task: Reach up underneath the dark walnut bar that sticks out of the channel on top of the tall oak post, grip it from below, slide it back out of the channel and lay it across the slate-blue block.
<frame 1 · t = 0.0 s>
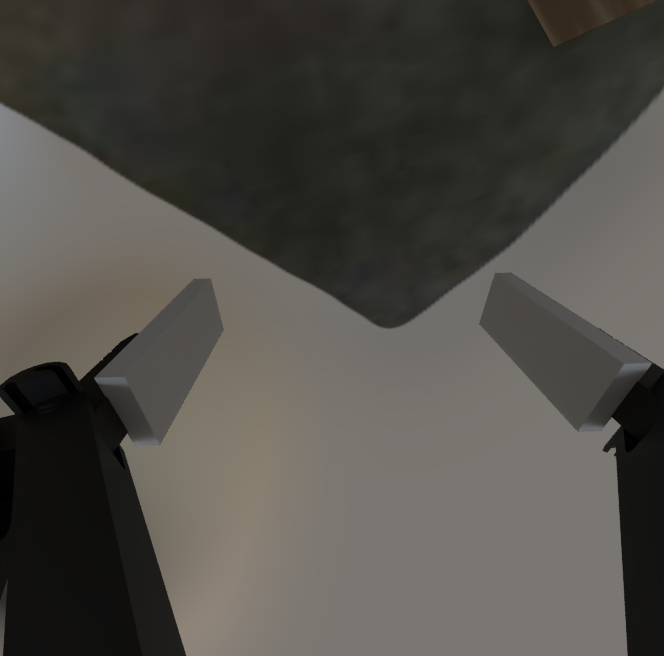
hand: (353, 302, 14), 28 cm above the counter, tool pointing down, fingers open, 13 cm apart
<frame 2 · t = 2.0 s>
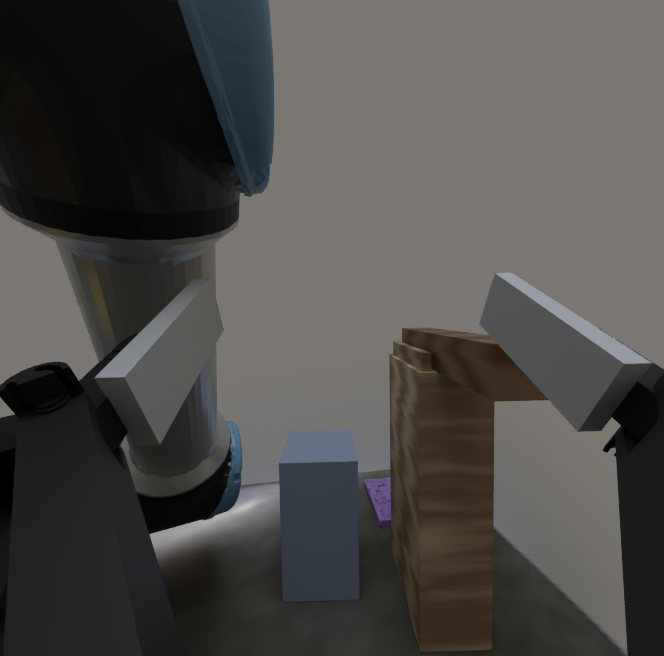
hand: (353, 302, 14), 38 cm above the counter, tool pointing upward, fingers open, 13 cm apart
walnut bar: (448, 368, 32), point 31 cm above the counter, touching oak post
sponges: (388, 505, 56), on the counter
oak post: (432, 589, 38), on the counter
blue step: (321, 566, 42), on the counter
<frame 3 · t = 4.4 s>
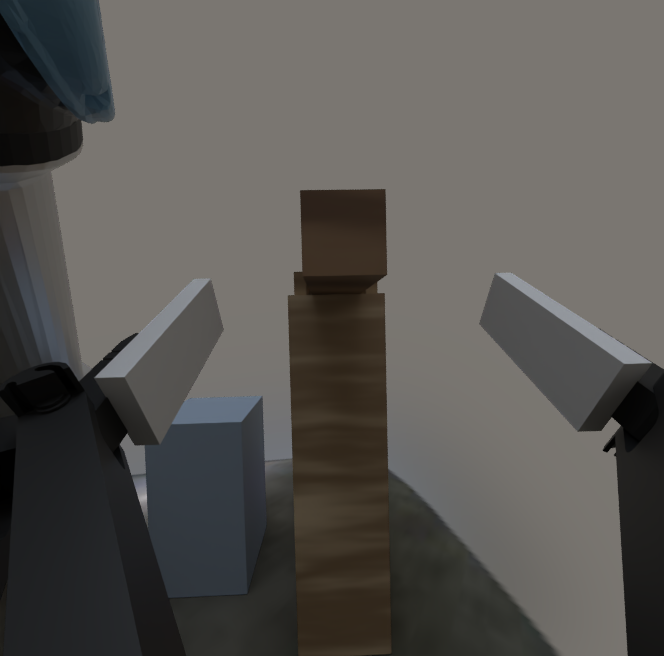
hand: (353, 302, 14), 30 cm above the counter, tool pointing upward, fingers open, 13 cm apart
walnut bar: (335, 296, 25), point 31 cm above the counter, touching oak post
oak post: (340, 581, 31), on the counter
blue step: (217, 556, 35), on the counter
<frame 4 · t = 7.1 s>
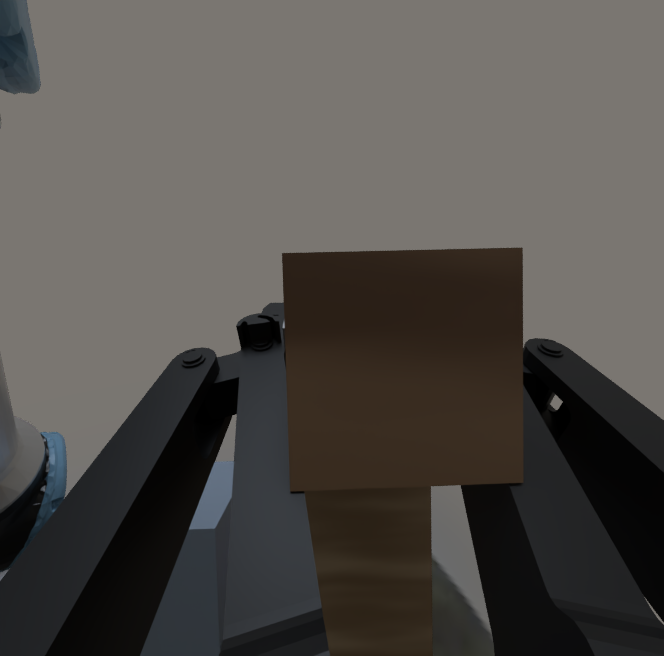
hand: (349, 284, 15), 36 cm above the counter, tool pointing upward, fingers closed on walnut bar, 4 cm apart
walnut bar: (349, 366, 17), point 31 cm above the counter, touching gripper, oak post
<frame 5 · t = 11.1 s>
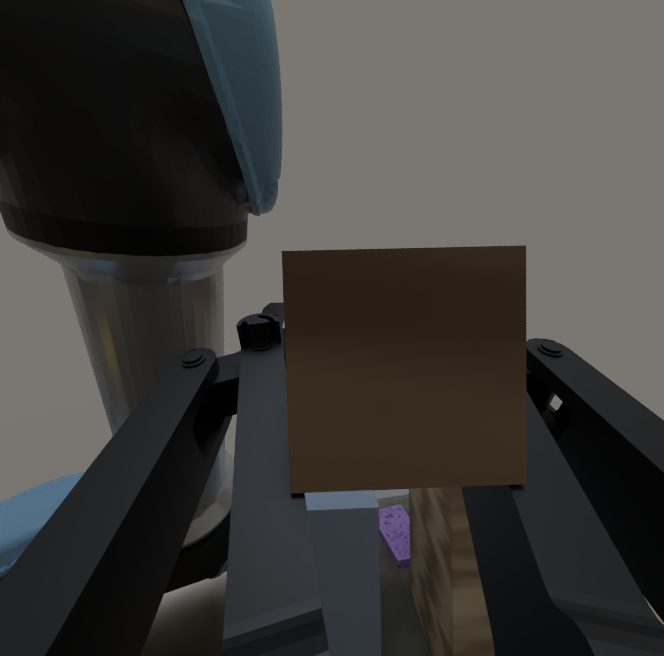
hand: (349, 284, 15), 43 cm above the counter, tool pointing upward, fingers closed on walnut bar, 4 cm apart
walnut bar: (349, 366, 17), point 38 cm above the counter, touching gripper
sponges: (399, 539, 53), on the counter
oak post: (459, 644, 35), on the counter
blue step: (337, 617, 39), on the counter
when the fingers open (26 cm above the counter, at t = 15.1 s): walnut bar drops 2 cm, resting on blue step.
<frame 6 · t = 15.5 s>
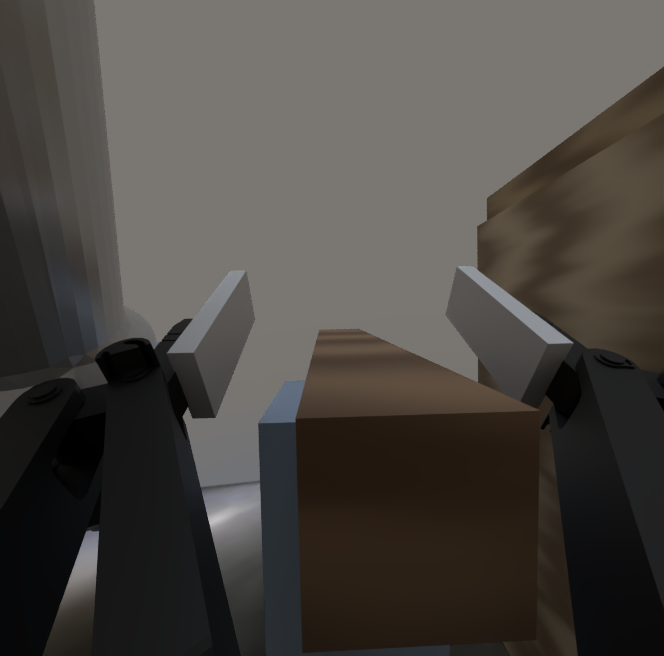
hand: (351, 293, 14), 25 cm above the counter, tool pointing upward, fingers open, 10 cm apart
walnut bar: (351, 408, 17), point 19 cm above the counter, touching blue step
blue step: (352, 647, 21), on the counter
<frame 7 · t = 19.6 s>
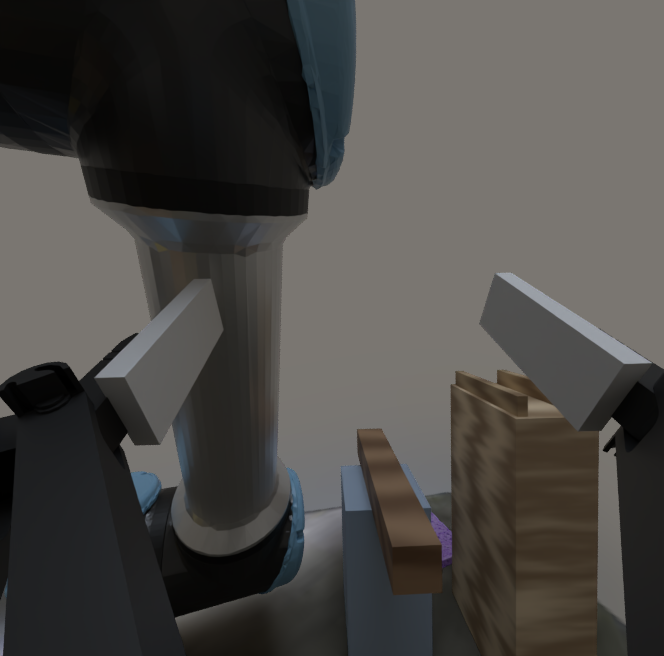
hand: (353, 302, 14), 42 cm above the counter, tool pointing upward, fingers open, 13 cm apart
walnut bar: (385, 499, 35), point 18 cm above the counter, touching blue step
sponges: (429, 539, 53), on the counter
oak post: (509, 646, 35), on the counter
blue step: (382, 617, 39), on the counter
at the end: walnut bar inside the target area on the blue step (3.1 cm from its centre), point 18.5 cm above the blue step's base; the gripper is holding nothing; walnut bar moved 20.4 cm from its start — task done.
